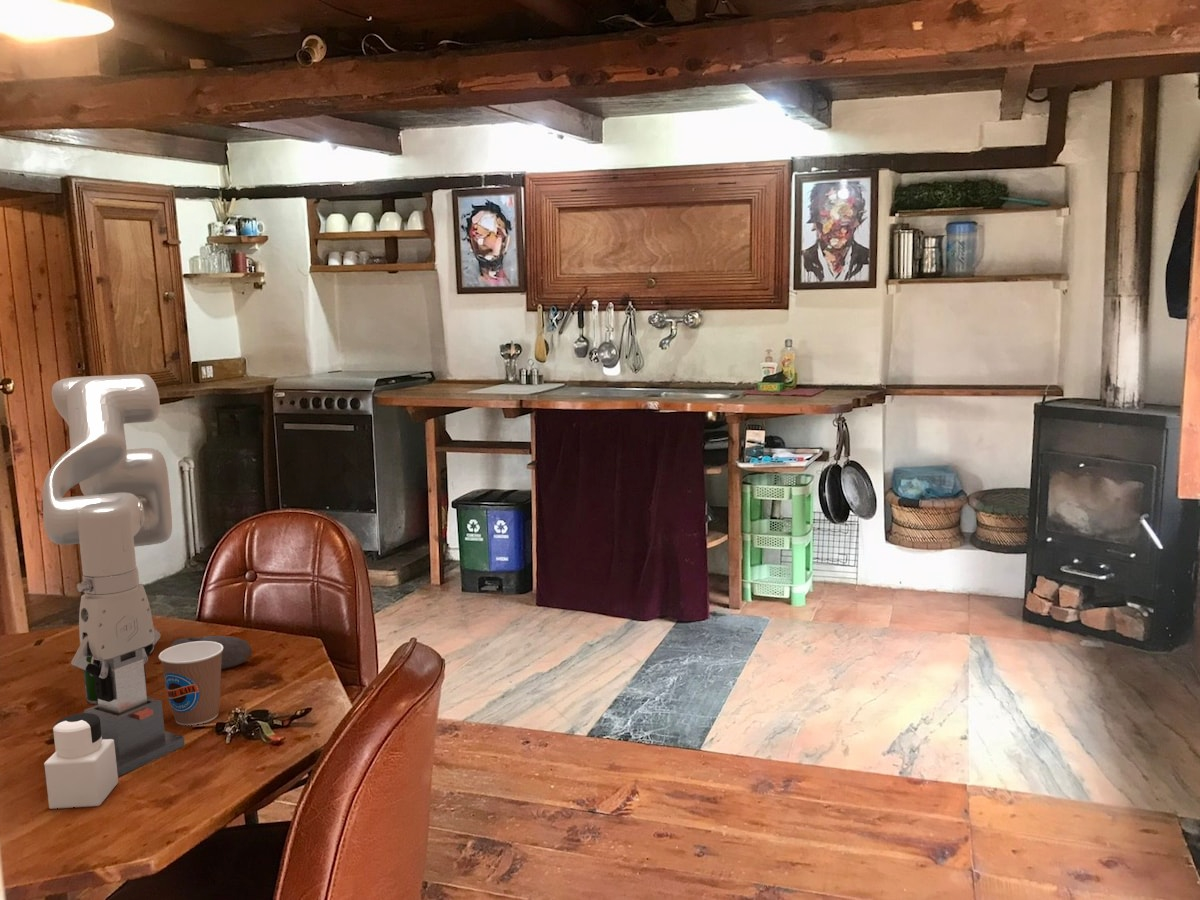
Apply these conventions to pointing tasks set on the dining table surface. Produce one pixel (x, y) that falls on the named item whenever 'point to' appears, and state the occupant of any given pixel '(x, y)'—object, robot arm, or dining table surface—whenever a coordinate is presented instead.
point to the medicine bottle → (80, 763)
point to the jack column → (126, 684)
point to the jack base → (137, 735)
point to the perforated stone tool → (225, 648)
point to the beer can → (90, 686)
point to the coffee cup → (193, 680)
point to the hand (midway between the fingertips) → (121, 692)
